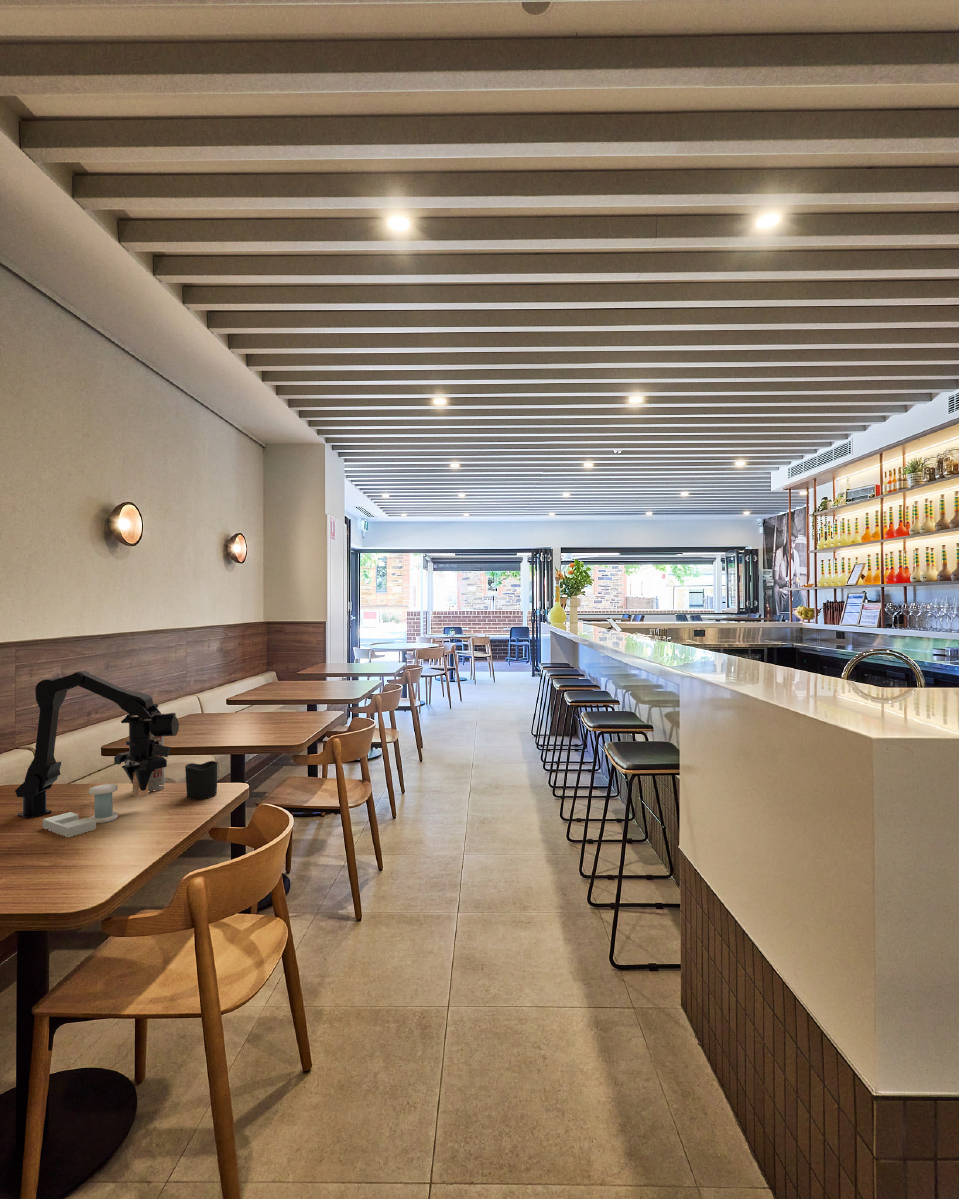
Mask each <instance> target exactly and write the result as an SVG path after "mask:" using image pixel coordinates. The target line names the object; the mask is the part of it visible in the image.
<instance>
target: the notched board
mask: <svg viewBox="0 0 959 1199" xmlns="http://www.w3.org/2000/svg"><path fill="white" fill-rule="evenodd" d="M43 828H44V830H46V829H48V830H47V831H48V832H49V831H50V832H51V831H52V832H51V833H54V832H55V833H54V834H57V835H59V834H60V835H59V836H62V835H63V836H62V837H64V836H65V838H67V837H68V838H71V837H74V835H75V836H79V835H82V834H86V833H88V831H89V832H92V831H93V832H94V831H96V830H97V824H96V820H93V819H90V818H89V817H84V818H83V817H82V818H80V814H78V813H76V812H71V811H69V812H65V813H62V814H58V815H54V816H51V817H46V818H43V819H42V829H43ZM95 829H96V830H95ZM85 832H86V833H85ZM78 834H79V835H78Z"/></svg>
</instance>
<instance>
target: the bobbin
mask: <svg viewBox="0 0 959 1199" xmlns="http://www.w3.org/2000/svg"><path fill="white" fill-rule="evenodd" d="M118 789H119V787H118V785H117V784H116V783H108V784H107V783H106V784H99V785H95V786H92V787H90V788H89V789H88V794H89V795H92V796H94V797H93V798H94V799H93V800H94V806H93V807H94V814H93V815H91V816H89V817H88V818H90V819H93V820H96V825H97V824H105V822H106V823H110V822H112V821H116V820H117V819H118V817H119V813H118V812H115V811H113V806H114V805H113V793H115V792H117V791H118Z"/></svg>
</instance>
